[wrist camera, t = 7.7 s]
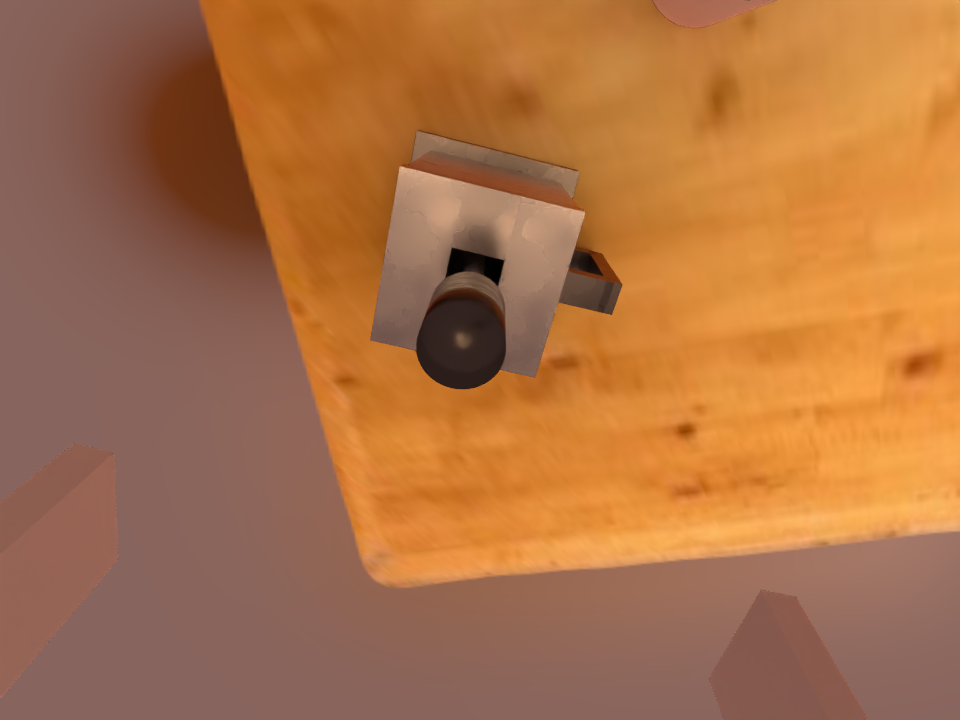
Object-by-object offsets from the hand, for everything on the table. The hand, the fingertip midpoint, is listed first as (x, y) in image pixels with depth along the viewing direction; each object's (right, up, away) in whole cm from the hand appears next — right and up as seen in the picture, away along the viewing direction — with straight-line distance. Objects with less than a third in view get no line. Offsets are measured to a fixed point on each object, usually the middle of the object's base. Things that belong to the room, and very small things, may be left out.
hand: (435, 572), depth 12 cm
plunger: (+1, +14, +31) cm, 34 cm away
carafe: (+2, +14, +33) cm, 36 cm away
